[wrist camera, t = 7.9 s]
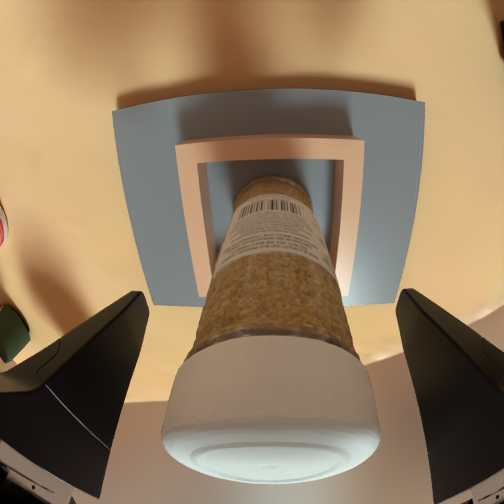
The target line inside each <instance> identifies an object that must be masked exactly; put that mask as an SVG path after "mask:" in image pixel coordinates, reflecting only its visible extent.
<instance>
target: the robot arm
mask: <svg viewBox="0 0 504 504" xmlns="http://www.w3.org/2000/svg"><path fill="white" fill-rule="evenodd" d="M501 28H502V33H503V39H504V20H502V21H501ZM396 316H397V321H398V326H399V330H400V335H401V340H402V345H403V350H404V353H405V357H406V360H407V364H408V367H409V371H410V375H411V378H412V382H413V386H414V390H415V394H416V398H417V402H418V406H419V411H420V415H421V419H422V425H423V429H424V434H425V440H426V445H427V452H428V459H429V466H430V473H431V481H432V490H433V501H434V504H439V503H441V502H444V501H446V500H448V499H451V498H453V497H455V496H458V495H460V494H462V493H464V492H466V491H468V490H470V489H471V494H472V499H470V500H468V501H466V502H464V503H462V504H504V352H502V351H501V350H500V349H498V348H497V347H496V346H494V345H493V344H491V343H490V342H489V341H487V340H486V339H485V338H483V337H481V335H479V334H478V333H477V332H475V331H474V330H472V329H471V328H470V327H468V326H467V325H465V324H464V323H463V322H461V321H460V320H458V319H457V318H456V317H454V316H453V315H451V314H450V313H448V312H447V311H446V310H444V309H443V308H441V307H440V306H438V305H437V304H435V303H434V302H432V301H431V300H430V299H428V298H427V297H425V296H424V295H422V294H421V293H419V292H418V291H416V290H415V289H412V288H409V289H403V290H402V291H401V293H400V296H399V300H398V303H397V306H396ZM148 318H149V308H148V305H147V302H146V299H145V296H144V294H143V292H141V291H131V292H129V293H128V294H126V295H125V296H123V297H121V298H120V299H118V300H117V301H115V302H114V303H112V304H111V305H109V306H108V307H106V308H105V309H103V310H101V311H100V312H98V313H97V314H95V315H94V316H92V317H91V318H89V319H88V320H86V321H85V322H83V323H82V324H80V325H79V326H77V327H76V328H74V329H73V330H71V331H70V332H68V333H67V334H65V335H64V336H62V337H61V339H60V338H59V339H58V340H56V341H55V342H54V343H52V344H51V345H49V346H48V347H46V348H44V349H43V350H41V351H40V352H38V353H36V354H35V355H33V356H31V357H30V358H28V359H26V360H25V361H23V362H21V363H20V364H18V365H16V366H15V367H13V368H11V369H9V370H7V371H5V372H1V373H0V504H76V503H75V501H74V499H73V497H71V495H72V492H73V489H74V488H75V489H77V490H79V491H81V492H84V493H86V494H88V495H90V496H93V497H95V498H98V499H99V497H100V494H101V489H102V484H103V480H104V476H105V471H106V467H107V463H108V458H109V455H110V449H111V446H112V442H113V439H114V435H115V431H116V427H117V424H118V421H119V417H120V414H121V410H122V407H123V404H124V400H125V397H126V394H127V391H128V387H129V384H130V381H131V378H132V375H133V372H134V369H135V366H136V363H137V360H138V357H139V354H140V351H141V347H142V343H143V339H144V334H145V330H146V326H147V322H148Z"/></svg>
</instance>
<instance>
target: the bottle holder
mask: <svg viewBox="0 0 504 504" xmlns="http://www.w3.org/2000/svg"><path fill="white" fill-rule="evenodd" d="M112 116H113V125H114V133H115V140H116V147H117V154H118V160H119V166H120V172H121V178H122V183H123V188H124V193H125V198H126V203H127V208H128V212H129V217H130V221H131V225H132V230H133V234H134V238H135V242H136V246H137V250H138V253H139V257H140V261H141V264H142V268H143V272H144V275H145V278H146V282H147V285H148V288H149V292H150V295H151V298H152V301H153V304H154V305H166V306H190V307H204V305H205V302H206V296H207V292H208V290H209V286H210V282H211V279H212V276H213V273H214V270H215V264H216V261H217V258H218V255H219V252H220V249H221V245H222V243H223V240H224V237H225V234H226V232H227V230H228V228H229V225H230V222H231V219H232V216H233V210H234V203H235V200H236V198H237V196H238V195H239V193H240V192H241V191H242V189H243V188H244V187H246V186H247V185H248V184H249V183H251V182H252V181H254V180H256V179H258V178H262V177H265V176H281V177H284V178H289V179H291V180H293V181H294V182H296V183H297V184H299V185H300V186H301V187H302V188H303V189H304V190H305V191H306V193H307V194H308V196H309V198H310V199H311V202H312V206H313V214H314V216H315V217H316V219H317V221H318V224H319V227H320V229H321V232H322V235H323V238H324V241H325V243H326V246H327V249H328V252H329V255H330V258H331V261H332V264H333V268H334V271H335V274H336V277H337V280H338V283H339V287H340V290H341V296H342V303H343V306H351V305H369V304H385V303H394V302H395V298H396V295H397V292H398V288H399V284H400V281H401V277H402V273H403V269H404V265H405V261H406V257H407V252H408V248H409V243H410V238H411V233H412V228H413V223H414V217H415V211H416V205H417V199H418V192H419V184H420V176H421V166H422V155H423V142H424V121H425V102H420V101H415V100H410V99H404V98H398V97H392V96H386V95H379V94H371V93H362V92H353V91H341V90H326V89H252V90H236V91H224V92H214V93H206V94H198V95H190V96H184V97H177V98H171V99H165V100H160V101H155V102H150V103H145V104H140V105H136V106H132V107H127V108H123V109H119V110H115V111H112Z"/></svg>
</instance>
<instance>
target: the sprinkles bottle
mask: <svg viewBox="0 0 504 504" xmlns="http://www.w3.org/2000/svg"><path fill="white" fill-rule="evenodd" d="M380 431H381V430H380V425H379V419H378V413H377V408H376V403H375V398H374V394H373V390H372V385H371V381H370V378H369V374H368V372H367V370H366V368H365V367H364V365H363V364H362V363H361V361H360V359H359V355H358V354H357V353H356V351H355V349H354V347H353V341H352V336H351V333H350V329H349V325H348V322H347V317H346V314H345V311H344V307H343V303H342V296H341V290H340V287H339V283H338V280H337V277H336V274H335V271H334V268H333V264H332V261H331V258H330V255H329V252H328V249H327V246H326V243H325V241H324V238H323V235H322V232H321V229H320V227H319V224H318V221H317V219H316V217H315V216H314V214H313V206H312V202H311V199H310V198H309V196H308V194H307V193H306V191H305V190H304V189H303V188H302V187H301V186H300V185H299V184H297V183H296V182H294V181H293V180H291V179H289V178H284V177H281V176H265V177H262V178H258V179H256V180H254V181H252V182H251V183H249V184H248V185H247V186H246V187H244V188H243V189H242V191H241V192H240V193H239V195H238V196H237V198H236V200H235V203H234V210H233V216H232V219H231V222H230V225H229V228H228V230H227V232H226V234H225V237H224V240H223V243H222V245H221V249H220V252H219V255H218V258H217V261H216V264H215V270H214V273H213V276H212V279H211V282H210V286H209V290H208V292H207V296H206V302H205V305H204V307H203V311H202V314H201V318H200V321H199V327H198V329H197V332H196V340H195V341H194V345H193V347H192V349H191V350H190V352H189V353H188V355H187V357H186V359H185V360H184V362H183V364H182V365H181V366H180V368H179V370H178V372H177V374H176V376H175V380H174V383H173V387H172V390H171V394H170V397H169V401H168V405H167V409H166V413H165V417H164V422H163V426H162V431H161V439H162V442H163V445H164V447H165V449H166V450H167V452H168V453H169V454H170V455H171V456H172V457H173V458H175V459H176V460H177V461H179V462H180V463H182V464H184V465H186V466H187V467H189V468H192V469H194V470H196V471H199V472H202V473H204V474H207V475H211V476H213V477H218V478H222V479H226V480H232V481H238V482H245V483H257V484H286V483H298V482H305V481H312V480H317V479H322V478H326V477H329V476H332V475H336V474H338V473H341V472H344V471H346V470H349V469H351V468H353V467H355V466H357V465H359V464H360V463H362V462H363V461H365V460H366V459H368V458H369V457H370V456H371V455H372V454H373V453H374V451H375V450H376V448H377V447H378V445H379V442H380V439H381V435H380V434H381V433H380Z"/></svg>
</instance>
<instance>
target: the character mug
mask: <svg viewBox="0 0 504 504" xmlns="http://www.w3.org/2000/svg"><path fill="white" fill-rule="evenodd" d="M1 306H2V305H0V307H1ZM29 341H30V335H29V333H28V331H27V329H26V327H25V326H24V324H23V322H22V320H21V318H20V317H19V316H18V315H17V314H16V313H15V312H14V311H13V310H12V309H11V308H9V307H8V306H7V305H5V306H4V307H3V308H2V310H1V311H0V373H1V372H5V371H7V370H8V368H7V366H6V365H5V363H8V362H10V361H11V360H12V359H13V358H14V357H15V356H16V355H17V354H18V353H19V352H20V351H21V350H22V349H23V348H24V347H25V346H26V345H27V343H28V342H29Z"/></svg>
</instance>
